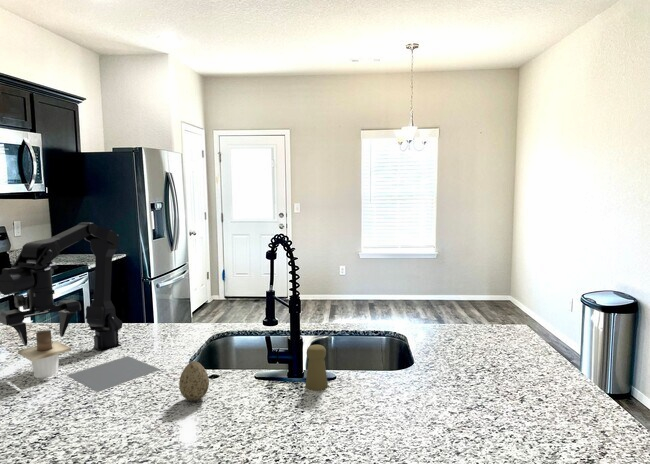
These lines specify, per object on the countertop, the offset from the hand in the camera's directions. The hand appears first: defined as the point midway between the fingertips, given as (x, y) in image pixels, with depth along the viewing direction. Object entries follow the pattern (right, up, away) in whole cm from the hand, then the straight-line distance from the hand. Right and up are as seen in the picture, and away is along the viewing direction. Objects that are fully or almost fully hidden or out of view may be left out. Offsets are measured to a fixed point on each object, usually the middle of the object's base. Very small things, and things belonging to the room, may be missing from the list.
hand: (44, 340), depth 124 cm
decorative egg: (+47, -11, -15) cm, 51 cm away
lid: (0, -3, 0) cm, 3 cm away
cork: (+78, -10, -8) cm, 79 cm away
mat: (+19, -10, +1) cm, 22 cm away
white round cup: (0, -10, +1) cm, 10 cm away
